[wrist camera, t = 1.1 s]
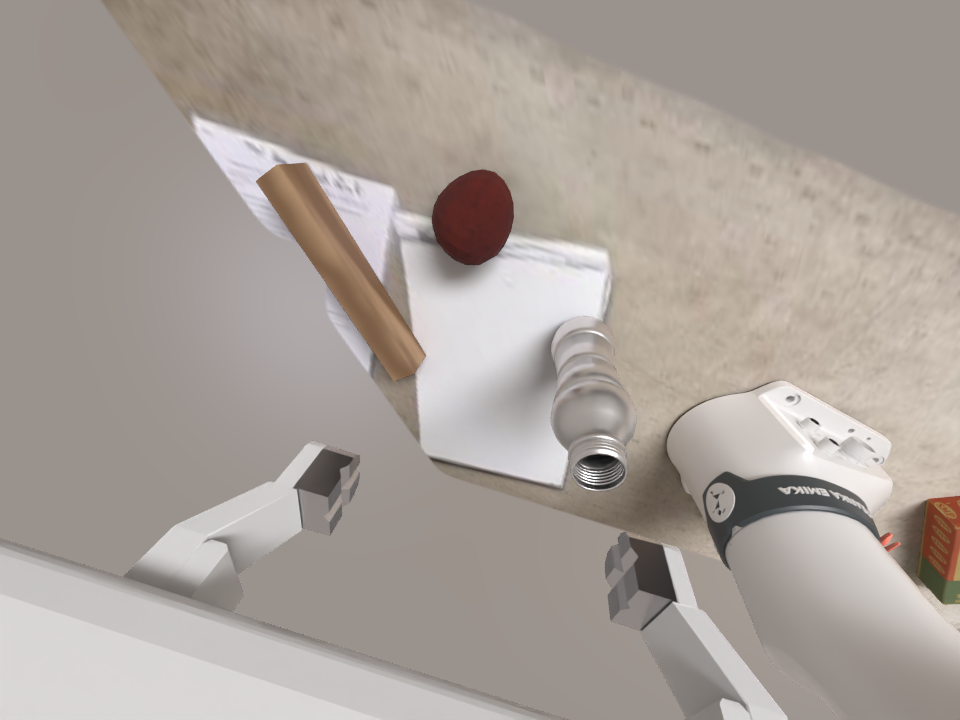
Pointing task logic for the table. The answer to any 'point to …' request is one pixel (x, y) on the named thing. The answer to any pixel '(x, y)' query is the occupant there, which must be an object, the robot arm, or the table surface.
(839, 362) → the table surface
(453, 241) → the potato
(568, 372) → the plastic bottle
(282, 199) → the board
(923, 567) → the carton
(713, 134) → the table surface
